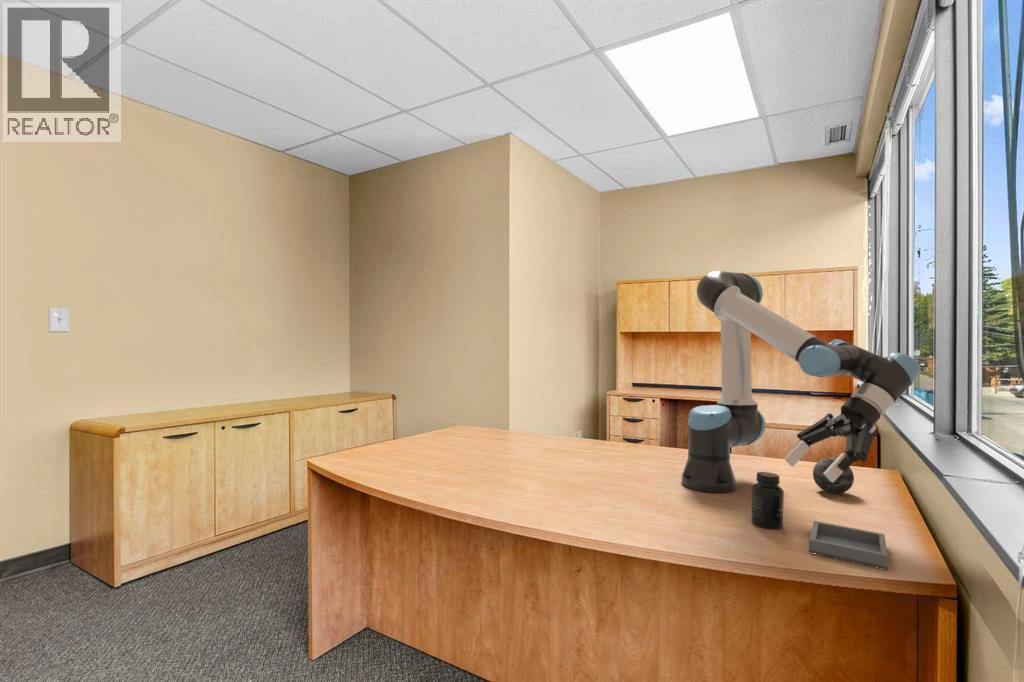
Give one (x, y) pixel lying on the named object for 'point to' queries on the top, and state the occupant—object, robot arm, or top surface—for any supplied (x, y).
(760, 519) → the supplement bottle
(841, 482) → the decorative stone
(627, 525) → the top surface
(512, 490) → the top surface
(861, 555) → the tray
